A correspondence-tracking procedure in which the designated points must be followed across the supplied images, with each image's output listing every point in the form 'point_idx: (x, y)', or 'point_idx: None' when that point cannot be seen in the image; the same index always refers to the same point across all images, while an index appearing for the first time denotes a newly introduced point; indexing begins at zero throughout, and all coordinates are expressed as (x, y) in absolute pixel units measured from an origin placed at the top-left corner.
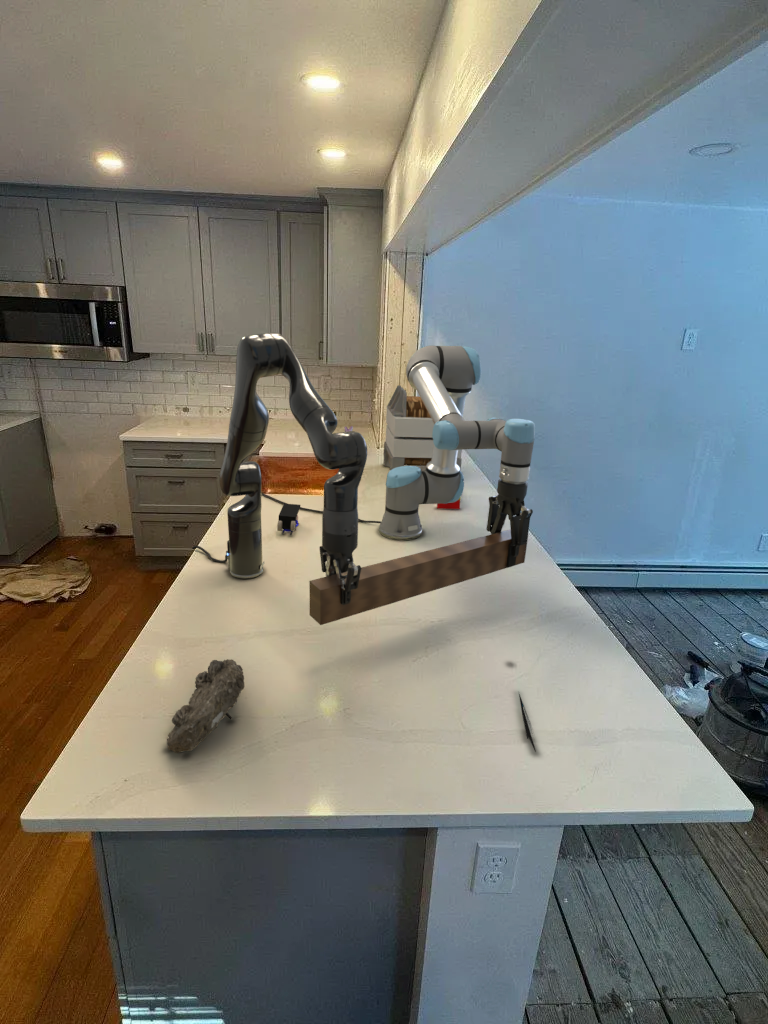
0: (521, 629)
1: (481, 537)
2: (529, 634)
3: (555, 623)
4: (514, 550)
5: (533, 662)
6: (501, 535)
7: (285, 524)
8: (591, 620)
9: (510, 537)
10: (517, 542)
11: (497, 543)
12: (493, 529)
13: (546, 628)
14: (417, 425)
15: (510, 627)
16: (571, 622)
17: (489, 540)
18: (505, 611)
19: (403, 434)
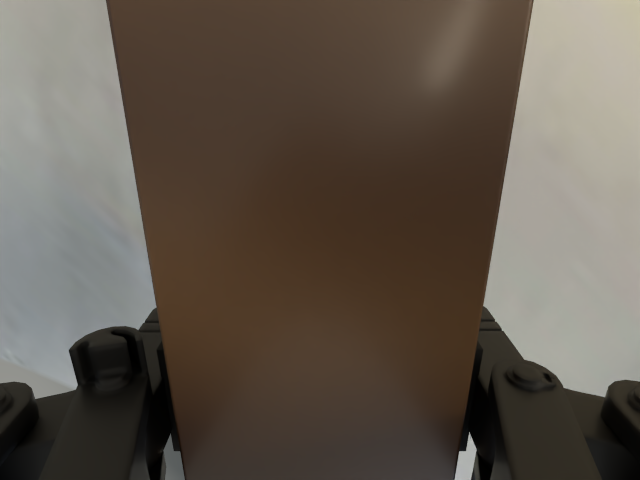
0: (52, 73)
1: (501, 14)
2: (4, 72)
3: (49, 241)
4: (147, 338)
5: None
6: (349, 403)
7: None
8: (27, 364)
9: (227, 454)
10: (17, 412)
11: (129, 122)
12: (554, 435)
13: (26, 179)
14: None
15: (84, 38)
16: (37, 297)
17: (286, 54)
18: None
19: None
